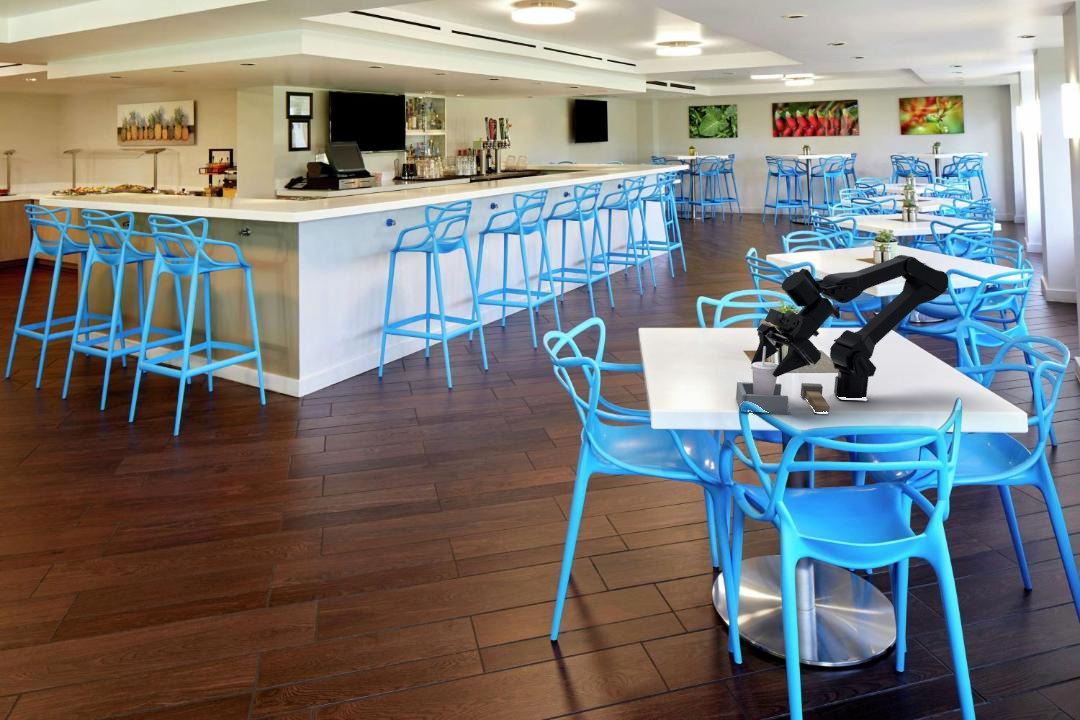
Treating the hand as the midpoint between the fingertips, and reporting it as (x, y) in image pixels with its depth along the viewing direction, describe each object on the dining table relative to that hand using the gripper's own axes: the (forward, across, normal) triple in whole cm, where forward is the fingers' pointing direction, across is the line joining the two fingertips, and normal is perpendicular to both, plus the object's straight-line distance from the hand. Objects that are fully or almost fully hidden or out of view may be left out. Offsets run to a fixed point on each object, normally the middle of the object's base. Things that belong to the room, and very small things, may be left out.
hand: (762, 370), depth 192 cm
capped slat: (-3, +4, +15) cm, 16 cm away
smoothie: (+6, 0, +7) cm, 9 cm away
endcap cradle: (+6, 0, +6) cm, 9 cm away
